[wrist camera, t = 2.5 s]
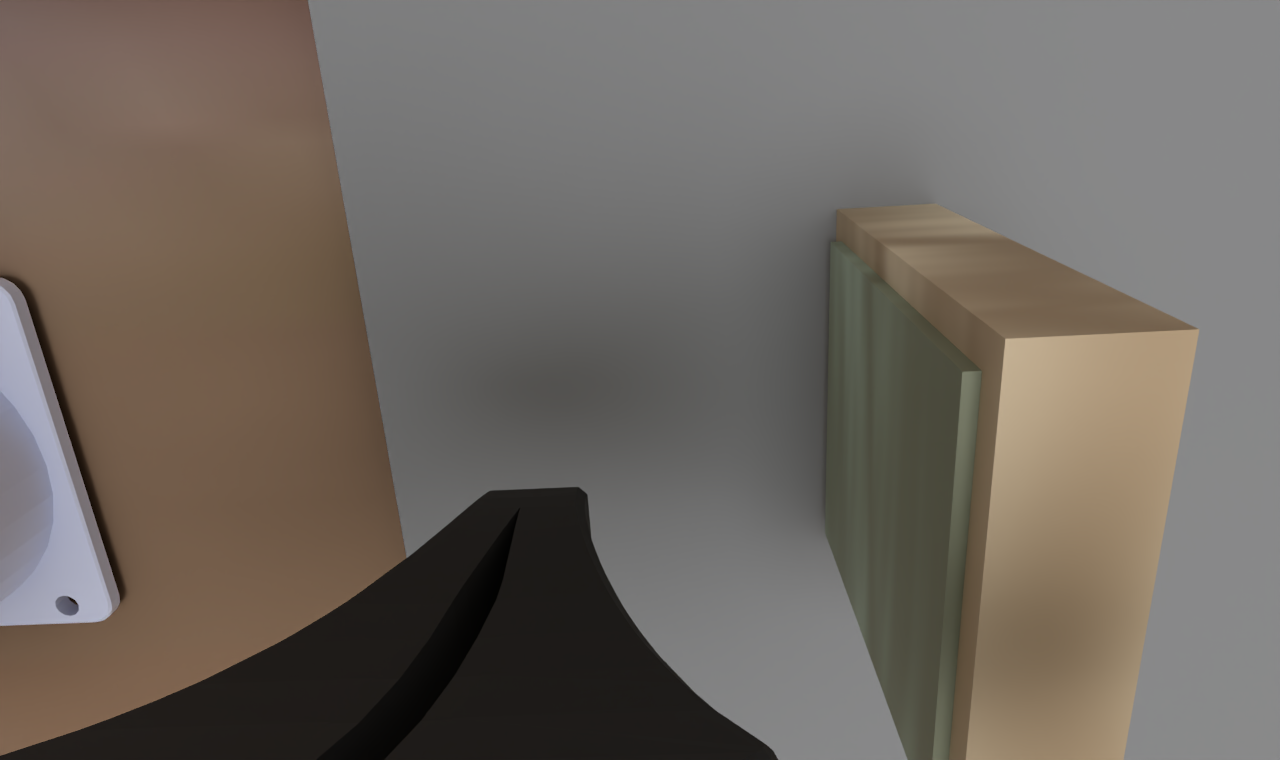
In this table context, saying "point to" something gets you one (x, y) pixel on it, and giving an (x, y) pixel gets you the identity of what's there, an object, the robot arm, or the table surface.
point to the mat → (802, 295)
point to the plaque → (996, 482)
